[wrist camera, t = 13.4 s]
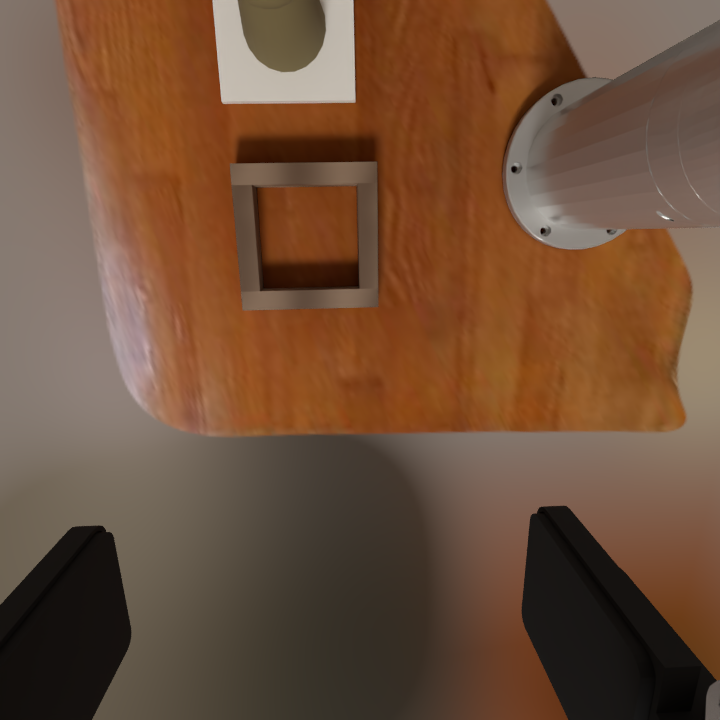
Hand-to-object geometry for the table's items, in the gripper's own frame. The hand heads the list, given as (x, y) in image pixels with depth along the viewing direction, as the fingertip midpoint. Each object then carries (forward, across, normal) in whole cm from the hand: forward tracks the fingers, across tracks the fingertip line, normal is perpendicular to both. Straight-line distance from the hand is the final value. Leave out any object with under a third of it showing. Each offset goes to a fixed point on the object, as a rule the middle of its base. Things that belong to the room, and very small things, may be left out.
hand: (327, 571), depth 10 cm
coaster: (+30, +3, -22) cm, 38 cm away
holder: (+30, +2, -7) cm, 31 cm away
